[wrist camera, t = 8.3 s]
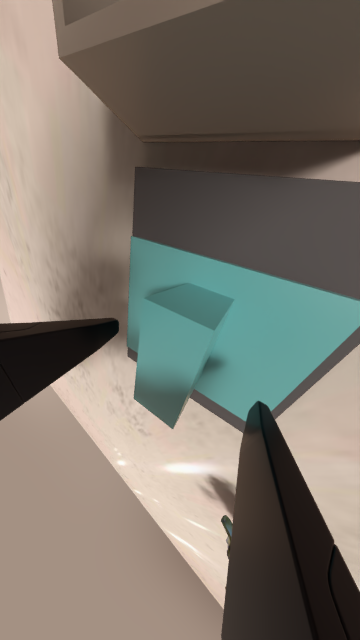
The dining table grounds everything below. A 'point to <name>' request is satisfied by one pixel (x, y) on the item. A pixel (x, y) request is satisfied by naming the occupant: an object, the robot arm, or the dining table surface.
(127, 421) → the dining table surface
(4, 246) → the dining table surface
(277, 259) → the rubber mat
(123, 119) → the storage box
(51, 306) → the dining table surface
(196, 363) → the lid
